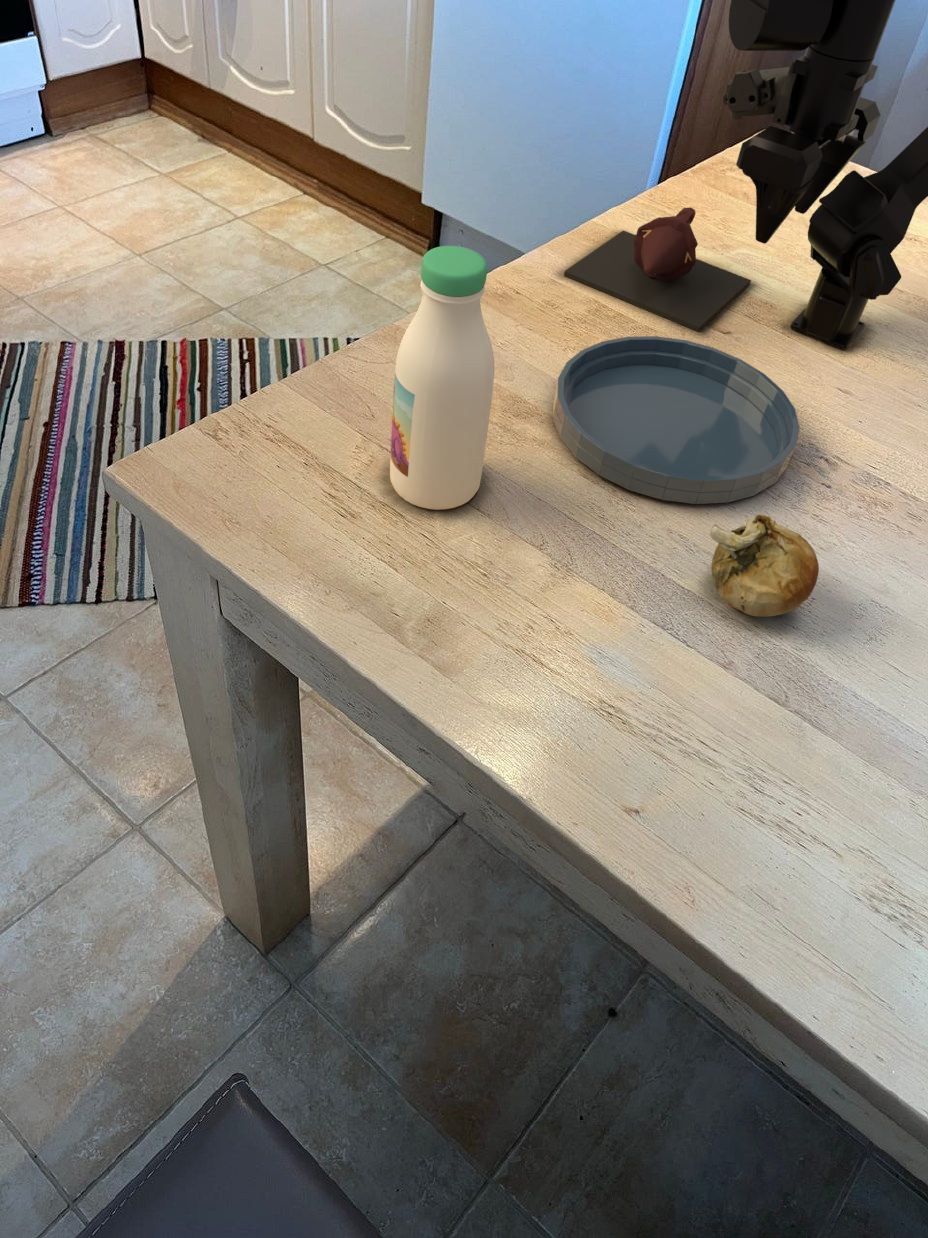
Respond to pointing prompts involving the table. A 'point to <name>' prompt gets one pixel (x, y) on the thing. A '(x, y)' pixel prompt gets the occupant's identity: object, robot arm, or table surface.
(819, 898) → the table surface
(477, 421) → the milk bottle
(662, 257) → the dark red teardrop piece
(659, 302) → the plate
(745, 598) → the onion
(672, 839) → the table surface
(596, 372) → the bowl
